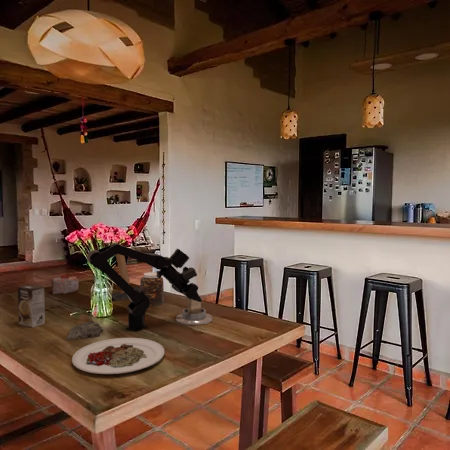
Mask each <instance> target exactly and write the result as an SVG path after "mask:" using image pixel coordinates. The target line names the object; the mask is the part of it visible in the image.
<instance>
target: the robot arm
mask: <svg viewBox="0 0 450 450" xmlns="http://www.w3.org/2000/svg"><path fill="white" fill-rule="evenodd" d="M120 244H121V243H118V242H112V243H111V244H109V245H107V246H104V247H102V248H99V249H97V250H96V249H94V250H90V251H89V252H88V253H87V255H86V260H87V262H88V263H89V264H90V265H91V266H93V267H94V268H96V269H97V270H98V271H100V272H102V273H104V274H105V275H106V276H107V277H108V278H109V279H110V280H111V281H112V282H113V283H114V284H115V285H116V286H117V287H118V288H119V289H120V290H121V291H123V292H125V293H126V295H127V296H128V298H129V299H128V300H129V301H130V303H129V304H127V306H126V309H127V311H128V312H129V313H128V315H127V317H128V318H127V321H128V325H127V326H126V327H125V330H130V331H134V332H135V331H136V332H139V331H141V330H143V329H145V328H147V327H148V324H147V325H146V324H145V315H146V313H147V310H148V308H149V307H150V306H149V305H150V301H149V299H148V298H149V297H148V296H147V295H146V294H144V292H143V291H142V290H141V289H139V288H138V289H137V290H135V289H134V287H133V286H132V285H131V284H130V285H129V284H128V283H127V282H126V281H125V280H124V279H123V278H122V277H121V276H120V273H119V272H117V270H116V269H114V267H113V266H111V264H110V262H109V260H110V259H112V258H113V257H115V256H116V254H120V255H123V256H124V257H126V258H130V259H133V260H136V261H140V262H142V263H145V264H147V265H149V266H151V267H152V268H155V269H156V273H157V275H156V276H157V277H158V278H161V277H162V278H163V277H164V278H165V280H167V282H168V283H169V284H171V288H172V289H173V290H174V291H176V292H178V293H179V294H182V295H184V296H185V297H186V298H187V299H188V298H189V299H192V300H195V301H198V302H201V303H202V301H203V300H202V297H201V296H200V294H199V293H198V290H199V286H198V285H197V284H196V283H193V282H191V281H190V280H191V279H193V278H194V277H197V276H198V273H197V271H196V269H195V268H194V267H191V266H190V267H188V266H184V265H186V263H187V262H188V261H189V260H190V257H189V256H188V255H187V253H184V251H182V250H181V249H179V248H176V249H175V250H174V252H173V253H172V254H171V256H169V257H168V256H163V255H161V254H157V253H151V252H143V251H140V250H138V249H135V248H132V247H131V248H130V247H128V246H125V245H123V244H122V245H120ZM178 268H179V269H182V272H180V271H178V270H177V269H178Z"/></svg>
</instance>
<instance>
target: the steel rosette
mask: <svg viewBox="0 0 450 450" xmlns="http://www.w3.org/2000/svg"><path fill="white" fill-rule="evenodd" d="M175 321H176V322H177V323H178V324H180V325H185V326H201V325H206V324H209V323H211V322H212V321H213V315H211V314H210V313H207V310H206V309H205V308H203V307H201V313H188V307H187V308H186V307H185V308H184V309H182V313H180V314H178V315H176V317H175Z"/></svg>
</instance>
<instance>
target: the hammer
mask: <svg viewBox="0 0 450 450" xmlns="http://www.w3.org/2000/svg"><path fill="white" fill-rule="evenodd" d="M115 256H116V262H117V266H118V267H117V268H118V271H119V272H118V273H119V275H120V276H121V277H122V278H123V279H124V280H125V281H126V282H127V283H128V284H129V285H130V286H131V283H130V277H129V272H128V268H127V263H126V258H125V257H126V256H123V255H120V254H117V255H115ZM133 288H134V289H135V290H137V289H138V288H139V289H140V286H134V287H133ZM111 294H112V298H113V299H112V298H111V299H112V300H114V301H122V300H127V299H128V300H130V299H129V298H128V296H127V295H126V293H125V292H123V291H122V290H121V291H119V292H115V293H111Z"/></svg>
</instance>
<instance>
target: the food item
mask: <svg viewBox="0 0 450 450" xmlns="http://www.w3.org/2000/svg"><path fill="white" fill-rule="evenodd" d="M78 290H79V279H78V278H77V277H76V276H69V275H68V274H62V275H61V276H60V277H54V278H52V279H51V294H52V295H58V294H59V295H61V294H68V293H75V292H77V291H78Z"/></svg>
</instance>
